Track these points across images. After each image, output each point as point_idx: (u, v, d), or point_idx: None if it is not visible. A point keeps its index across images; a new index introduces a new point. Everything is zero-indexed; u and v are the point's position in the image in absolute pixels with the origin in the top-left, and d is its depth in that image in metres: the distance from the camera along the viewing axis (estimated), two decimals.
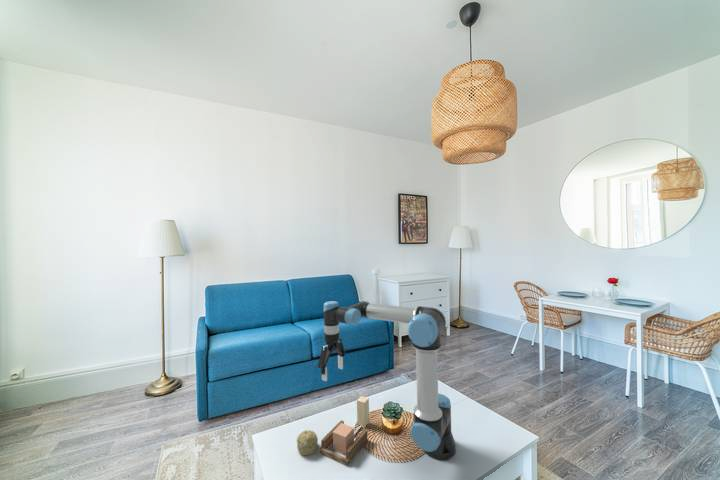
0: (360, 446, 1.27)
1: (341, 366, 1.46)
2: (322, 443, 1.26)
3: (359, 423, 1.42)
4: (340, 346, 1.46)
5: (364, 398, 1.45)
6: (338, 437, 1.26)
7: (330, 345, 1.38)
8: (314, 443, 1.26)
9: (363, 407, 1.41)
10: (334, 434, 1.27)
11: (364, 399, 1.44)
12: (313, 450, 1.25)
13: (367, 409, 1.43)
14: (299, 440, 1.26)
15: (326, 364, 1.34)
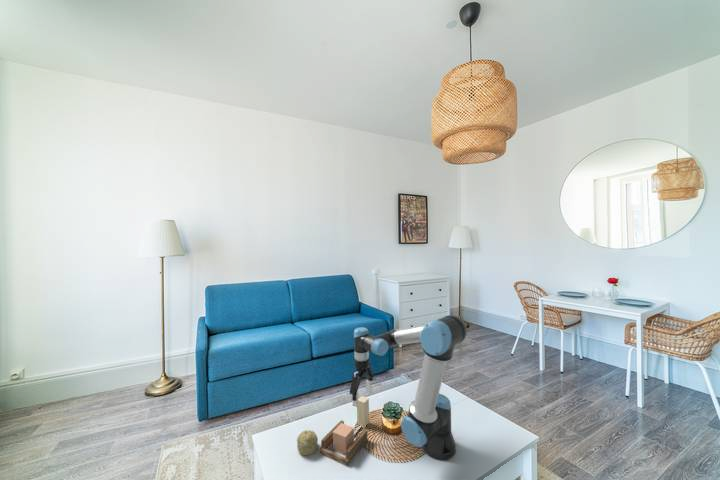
0: (360, 446, 1.27)
1: (369, 390, 1.49)
2: (322, 443, 1.26)
3: (359, 423, 1.42)
4: (368, 370, 1.50)
5: (364, 398, 1.45)
6: (338, 437, 1.26)
7: (360, 371, 1.41)
8: (314, 443, 1.26)
9: (363, 407, 1.41)
10: (334, 434, 1.27)
11: (364, 399, 1.44)
12: (313, 450, 1.25)
13: (367, 409, 1.43)
14: (299, 440, 1.26)
15: (357, 390, 1.38)
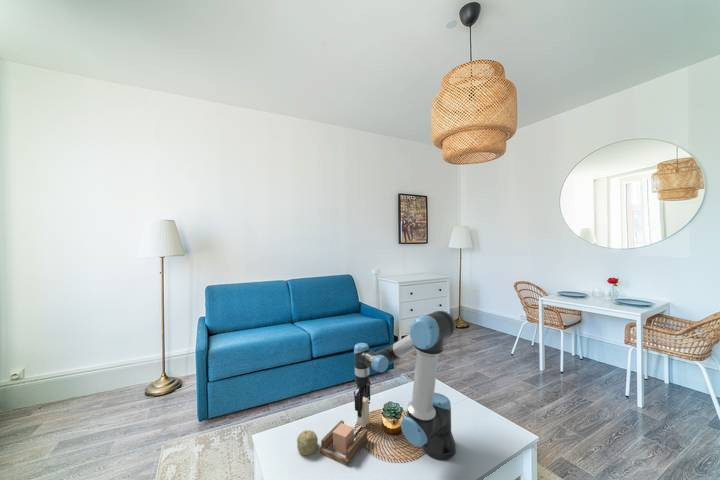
0: (360, 446, 1.27)
1: None
2: (322, 443, 1.26)
3: (359, 423, 1.42)
4: None
5: (364, 397, 1.45)
6: (338, 437, 1.26)
7: (361, 387, 1.41)
8: (314, 443, 1.26)
9: (363, 407, 1.41)
10: (334, 434, 1.27)
11: (364, 399, 1.44)
12: (313, 450, 1.25)
13: (367, 409, 1.43)
14: (299, 440, 1.26)
15: None
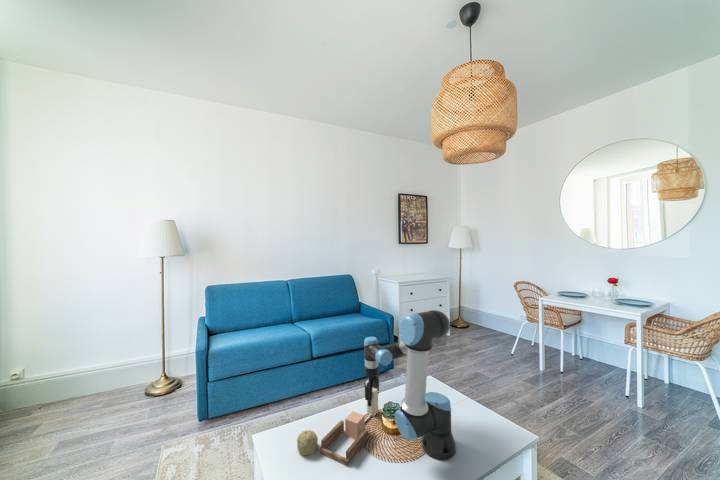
0: (360, 446, 1.27)
1: None
2: (322, 443, 1.26)
3: (369, 412, 1.51)
4: None
5: (373, 388, 1.54)
6: (350, 423, 1.35)
7: (371, 378, 1.50)
8: (314, 443, 1.26)
9: (373, 397, 1.50)
10: (346, 421, 1.36)
11: (373, 389, 1.53)
12: (313, 450, 1.25)
13: (376, 399, 1.52)
14: (299, 440, 1.26)
15: (371, 396, 1.50)
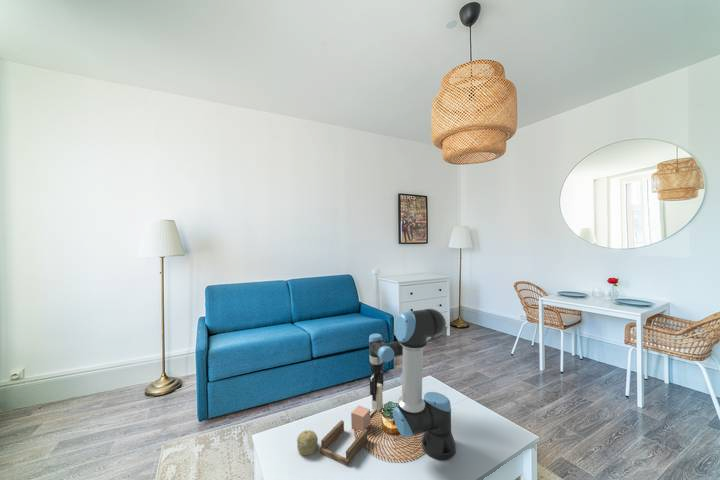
0: (360, 446, 1.27)
1: None
2: (322, 443, 1.26)
3: (373, 406, 1.56)
4: (380, 377, 1.61)
5: (377, 383, 1.59)
6: (356, 417, 1.39)
7: (375, 374, 1.54)
8: (314, 443, 1.26)
9: (377, 392, 1.55)
10: (352, 414, 1.40)
11: (378, 384, 1.57)
12: (313, 450, 1.25)
13: (381, 394, 1.57)
14: (299, 440, 1.26)
15: (376, 391, 1.54)
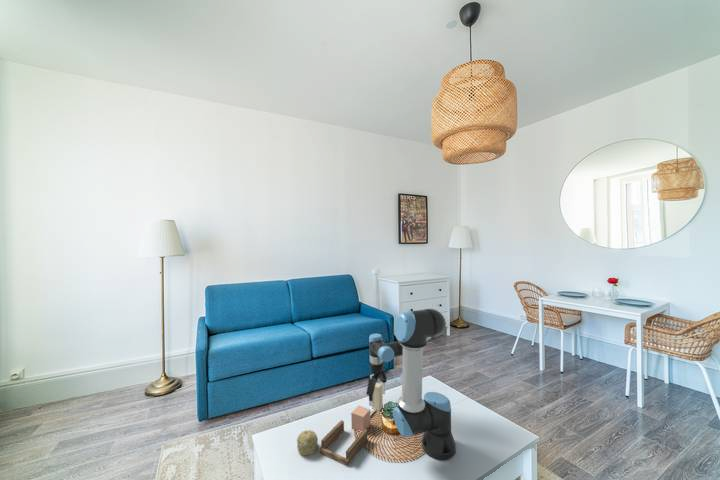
0: (360, 446, 1.27)
1: (383, 391, 1.63)
2: (322, 443, 1.26)
3: (374, 406, 1.56)
4: (382, 373, 1.63)
5: (377, 383, 1.59)
6: (356, 417, 1.39)
7: (376, 374, 1.55)
8: (314, 443, 1.26)
9: (377, 392, 1.55)
10: (352, 414, 1.40)
11: (378, 384, 1.57)
12: (313, 450, 1.25)
13: (381, 394, 1.57)
14: (299, 440, 1.26)
15: (373, 391, 1.51)
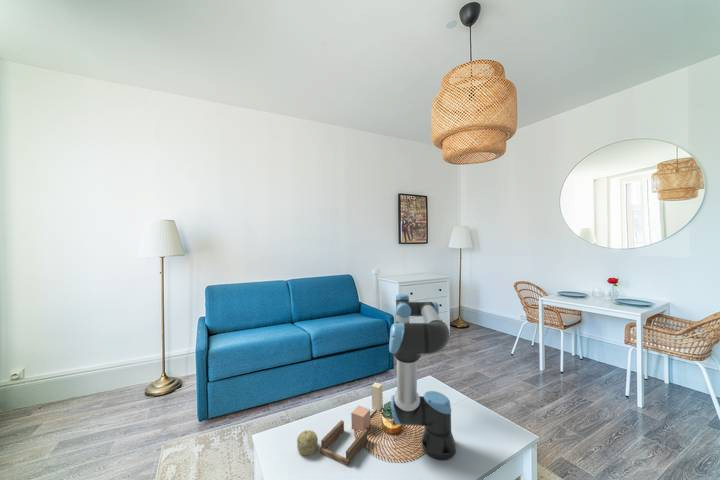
0: (360, 446, 1.27)
1: None
2: (322, 443, 1.26)
3: (374, 406, 1.56)
4: None
5: (377, 383, 1.59)
6: (356, 417, 1.39)
7: None
8: (314, 443, 1.26)
9: (377, 392, 1.55)
10: (352, 414, 1.40)
11: (378, 384, 1.57)
12: (313, 450, 1.25)
13: (381, 394, 1.57)
14: (299, 440, 1.26)
15: None
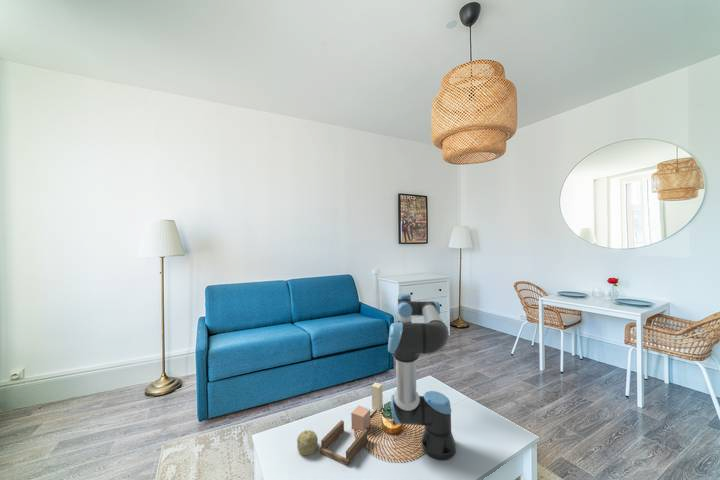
0: (360, 446, 1.27)
1: None
2: (322, 443, 1.26)
3: (374, 406, 1.56)
4: None
5: (377, 383, 1.59)
6: (356, 417, 1.39)
7: None
8: (314, 443, 1.26)
9: (377, 392, 1.55)
10: (352, 414, 1.40)
11: (378, 384, 1.57)
12: (313, 450, 1.25)
13: (381, 394, 1.57)
14: (299, 440, 1.26)
15: None
